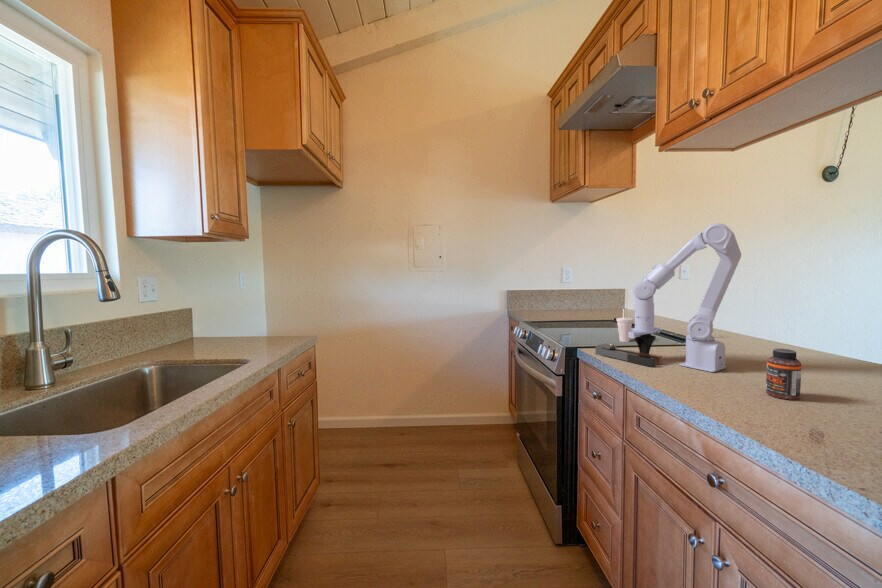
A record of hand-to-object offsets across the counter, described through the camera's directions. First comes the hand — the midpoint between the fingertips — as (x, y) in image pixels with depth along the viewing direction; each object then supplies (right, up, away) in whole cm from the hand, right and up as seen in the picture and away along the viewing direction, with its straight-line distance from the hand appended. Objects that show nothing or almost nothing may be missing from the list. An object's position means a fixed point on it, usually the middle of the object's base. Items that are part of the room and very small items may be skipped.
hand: (644, 356), depth 119 cm
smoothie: (+9, +1, +30) cm, 31 cm away
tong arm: (-3, -1, +1) cm, 4 cm away
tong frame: (-6, -1, +2) cm, 6 cm away
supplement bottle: (+13, -4, -35) cm, 37 cm away
